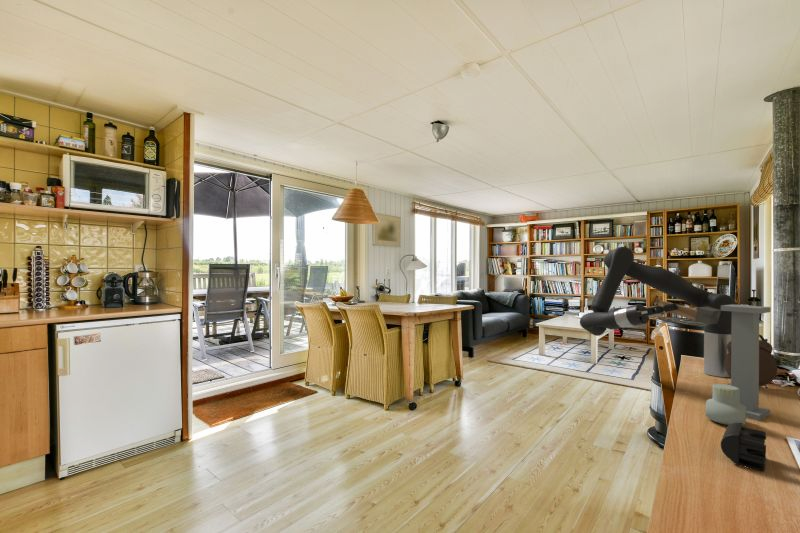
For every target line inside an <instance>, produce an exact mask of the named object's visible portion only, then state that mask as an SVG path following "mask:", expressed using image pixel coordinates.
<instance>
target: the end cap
mask: <svg viewBox="0 0 800 533" xmlns="http://www.w3.org/2000/svg"><path fill="white" fill-rule="evenodd" d="M766 440H767V432H766V431H762V430H759V429H753V428H749V427H746V426H744V425H743V423H733V424H730V425H727V426H726V428H725V431H724V433H723V435H722V438H721V441H720V448H721V449H720V450H721V451H722V453H723V454H724V455H725V457H727V458H728V459H729V460H730V461H731V462H732V463H734V464H735V463H736V464H735V465H737V464H738V465H737V466H739V465H742V466H741V467H743V466H746V467H748V468H747V469H750V468H751V469H750V470H753V469H754V471H757V472H761V473H764V472H765V470H766V469H765V468H766V460H767V456H766V455H767V445H766V444H765V443H766ZM746 467H745V468H746Z"/></svg>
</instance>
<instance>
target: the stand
mask: <svg viewBox="0 0 800 533" xmlns="http://www.w3.org/2000/svg"><path fill="white" fill-rule="evenodd" d="M771 310H772V309H771V306H760V305H758V306H757V305H745V304H744V305H743V304H736V305H733V304H732V305H722V306H721V311H732V325H731V377H730V386H734V387H737V388H738V389H739V390H740V404H742V405H744V406H745V407H746V419H749V420H753V421H754V420H755V421H759V422H760V421H762V420H763V419H765V418H767V417H768V416H770V415H771V409H767V408H763V407H760V406H759V405H760V404H759V403H760V400H759V398H760V397H759V396H760V395H759V394H760V393H759V392H760V387H759V340H760V337H759V334H760V314H767V313H771Z"/></svg>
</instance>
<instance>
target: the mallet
mask: <svg viewBox="0 0 800 533" xmlns="http://www.w3.org/2000/svg"><path fill="white" fill-rule="evenodd" d="M669 304H673V302H670V301H666V300H659V301H658V304H657V306H661V305H669ZM676 304H677V303H676ZM682 305H683V304H682ZM682 305H678V304H677V306H678V309H677V310H673V311H668V312H669V313H670V314H673V315H678V316H679V317H682V318H683V317H684V318H687V319H691V320H694V321H695V322H698V323H702V324H704V325H706V324H708V325H710V324H717V323H718V320H719V316H720V312H721V310H718V309H714V308H710V307H698V308H692V307H689V306H685V305H683V306H682ZM664 307H665V306H664ZM669 313H668V314H669Z"/></svg>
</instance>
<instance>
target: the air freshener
mask: <svg viewBox="0 0 800 533" xmlns="http://www.w3.org/2000/svg"><path fill="white" fill-rule="evenodd" d="M711 393H712V398H708V399H707V400H706V403H705V416H706V417H707V418H708V419H710V420H712V421H713V422H715V423H718V424H720V425H721V424H722V425H724V426H725V425H726V426H729V425H730V424H733V423H743V426H745V425H746V423H747V418H746V407H745V406H744V405H742V404H740V390H739V389H738V388H737V387H734V386H731V384H730V385H729V384H723V383H715V384H713V385H712V392H711Z"/></svg>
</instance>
